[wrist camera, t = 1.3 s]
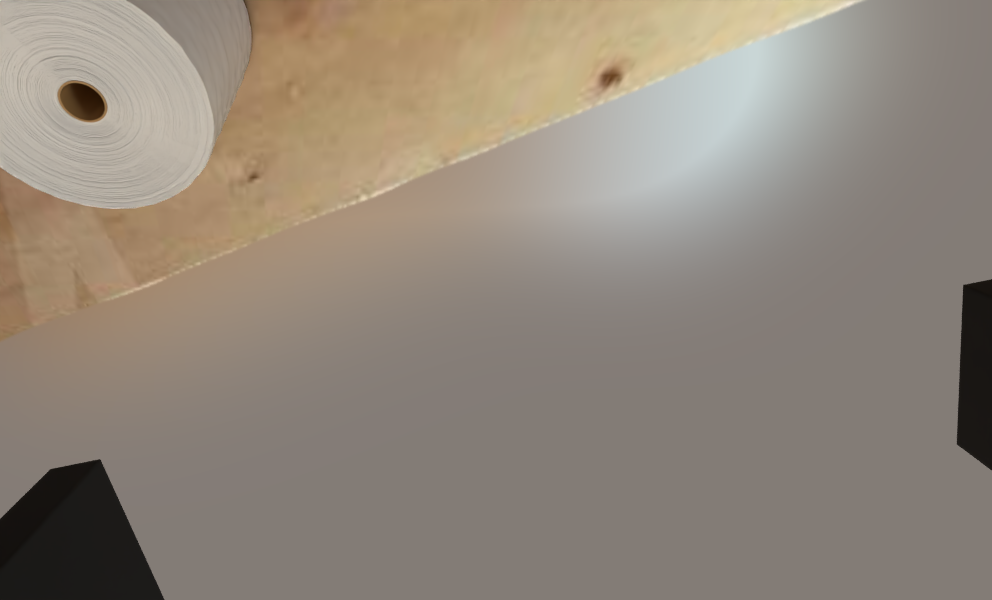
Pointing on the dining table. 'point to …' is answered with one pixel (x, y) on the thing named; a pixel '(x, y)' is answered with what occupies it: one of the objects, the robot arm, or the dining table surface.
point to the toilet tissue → (117, 94)
